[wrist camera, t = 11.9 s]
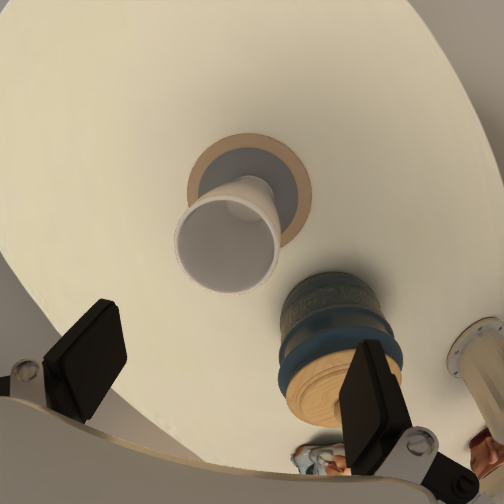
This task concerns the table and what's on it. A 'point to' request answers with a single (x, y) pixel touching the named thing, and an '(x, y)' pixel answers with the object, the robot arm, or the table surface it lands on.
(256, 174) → the round coaster
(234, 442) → the table surface
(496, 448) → the decorative planter
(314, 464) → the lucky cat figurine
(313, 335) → the canister
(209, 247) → the drinking glass
